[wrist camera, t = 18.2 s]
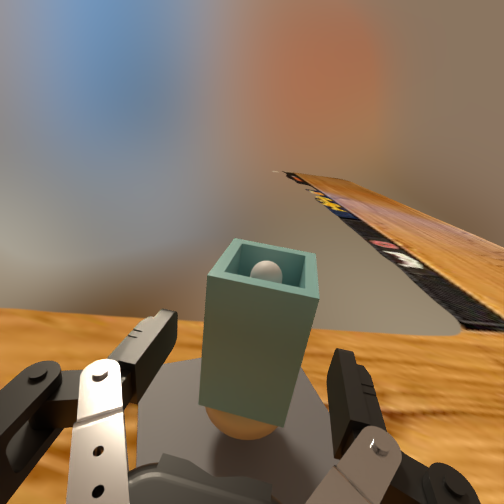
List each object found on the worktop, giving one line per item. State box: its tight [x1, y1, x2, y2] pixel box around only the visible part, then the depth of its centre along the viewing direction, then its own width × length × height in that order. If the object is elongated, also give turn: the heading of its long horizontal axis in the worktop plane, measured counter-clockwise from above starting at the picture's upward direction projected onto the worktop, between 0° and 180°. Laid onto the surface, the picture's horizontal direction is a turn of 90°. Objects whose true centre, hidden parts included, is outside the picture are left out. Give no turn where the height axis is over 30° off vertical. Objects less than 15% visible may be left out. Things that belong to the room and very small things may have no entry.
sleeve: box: [198, 238, 319, 428], centre depth 18 cm, size 6×6×10 cm
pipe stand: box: [136, 261, 340, 504], centre depth 19 cm, size 16×15×16 cm
